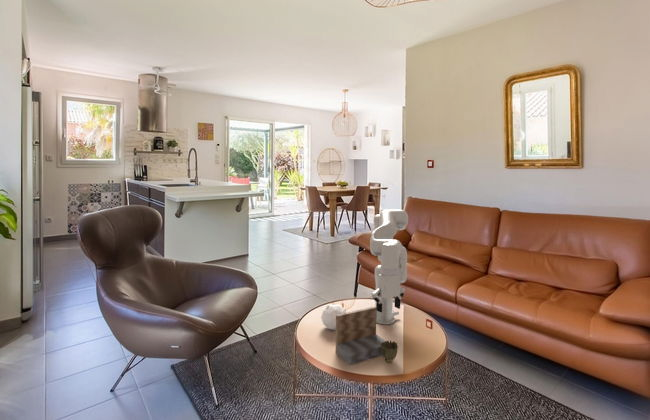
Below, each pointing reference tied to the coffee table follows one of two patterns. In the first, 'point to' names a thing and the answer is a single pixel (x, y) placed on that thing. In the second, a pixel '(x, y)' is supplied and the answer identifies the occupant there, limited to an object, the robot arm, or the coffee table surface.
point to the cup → (389, 350)
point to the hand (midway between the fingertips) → (388, 309)
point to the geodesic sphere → (331, 315)
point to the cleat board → (358, 336)
